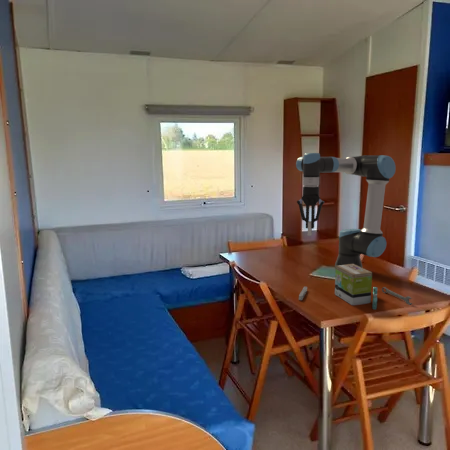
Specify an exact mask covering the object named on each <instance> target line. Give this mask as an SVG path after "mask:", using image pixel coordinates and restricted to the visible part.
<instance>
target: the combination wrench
mask: <svg viewBox="0 0 450 450" xmlns="http://www.w3.org/2000/svg"><path fill="white" fill-rule="evenodd" d="M384 289H385V290H384ZM381 292H382V293H384V294H389V295H391V296H394V297H395V298H398V299H400V300H402V301H404V302H405V303H406V304H407V305H409V306H410V305H411V306H412V305H413V303H412V302H410V300H412V299H413V298H412V297H411V296H409V295H408V296H403V295H401V294H399V293H396V292H394V291H392V290H390V289H389V288H387V287H386V286H383V287H382V288H381Z"/></svg>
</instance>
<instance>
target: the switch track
mask: <svg viewBox="0 0 450 450" xmlns="http://www.w3.org/2000/svg"><path fill="white" fill-rule="evenodd" d="M378 288H379V287H377V286H373V288H372V304H371V305H372V307H371V308H372V310H377V308H378ZM307 292H308V286H303V288H302V290H301V291H300V293H299V295H298V301H303V299H304V298H305V295H306V294H307Z"/></svg>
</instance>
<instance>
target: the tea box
mask: <svg viewBox="0 0 450 450" xmlns="http://www.w3.org/2000/svg"><path fill="white" fill-rule="evenodd" d="M334 278H335V280H334V295H335V296H337V297H339V298H340V299H342V300H343V301H345V302H346V303H348V304H349V305H351V306H359V305H366V304H367V305H368V304H370V303H371V302H372V286H373V285H372V283H373V282H372V281H373V272H372V271H370V270H368V269H366V268H363V267H362V268H361V267H359V266H357V265H355V264H347V265H338V266H336V269H335V275H334Z"/></svg>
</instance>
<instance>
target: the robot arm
mask: <svg viewBox="0 0 450 450" xmlns="http://www.w3.org/2000/svg"><path fill="white" fill-rule="evenodd" d="M295 167H296V169H297V170H298V171H300V172H302V185H303V187H302V196H301V198H300V199H299V200H297V201H296V204H297V205H298V207H299V212H300V217H301V220H302V221H303V222H305V229H307V236H308V237H309V236H310V237H311V236H312V235H313V232H312V231H313V230H314V228H315V223H316V222H317V221H318V220H319V219H320V214H321V211H322V207H323V205H324V204H325V201H324V200H322V199H321V197H320V187H319V185H320V176H321V175H320V174H327V173H330V174H331V173H345V174H347V175H352V176H353V175H355V176H359V177H365V181H366V182H367V184H368V186H367V194H366V203H365V210H364V211H365V212H364V222H363V227H362V228H361V229H360V228H348V229H347V228H346V229H342V230H340V231H339V234H338V235H339V236H338V256H337V258H336V261H335V263H334V264H335V265H334V269H335V270H336V266H338V265H347V264H355V265H357V266H359V267H361V268H363V263H362V259H361V255H362V256H367V257H370V258H372V257H373V258H379V257H380V256H381V255H383V253H384V252H385V251H386V248H387V240H386V237H384V236H383V234H384V233H383V231H382V229H381V225H382V217H383V209H384V200H385V191H386V185H387V184H388V183H389V182H390V179H391V178H393V177H394V175H395V174H396V168H397V167H396V163H395V161H394V159H393V158H392V157H391V156H389V155H383V154H381V155H379V154H377V155H374V154H373V155H358V156H357V155H356V156H347V157H335V156H321V154H320V153H319V152H305V153H304V155H303V156H300V157H298V158H297V160H296V162H295ZM303 204H304V205H305V211H304V207H303ZM317 204H318V208H317V210H316V205H317ZM310 206H311V211H310ZM315 210H316V211H315ZM310 212H311V213H310ZM315 213H316V214H315ZM310 214H311V215H310ZM315 215H316V216H315ZM310 216H311V217H310Z"/></svg>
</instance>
